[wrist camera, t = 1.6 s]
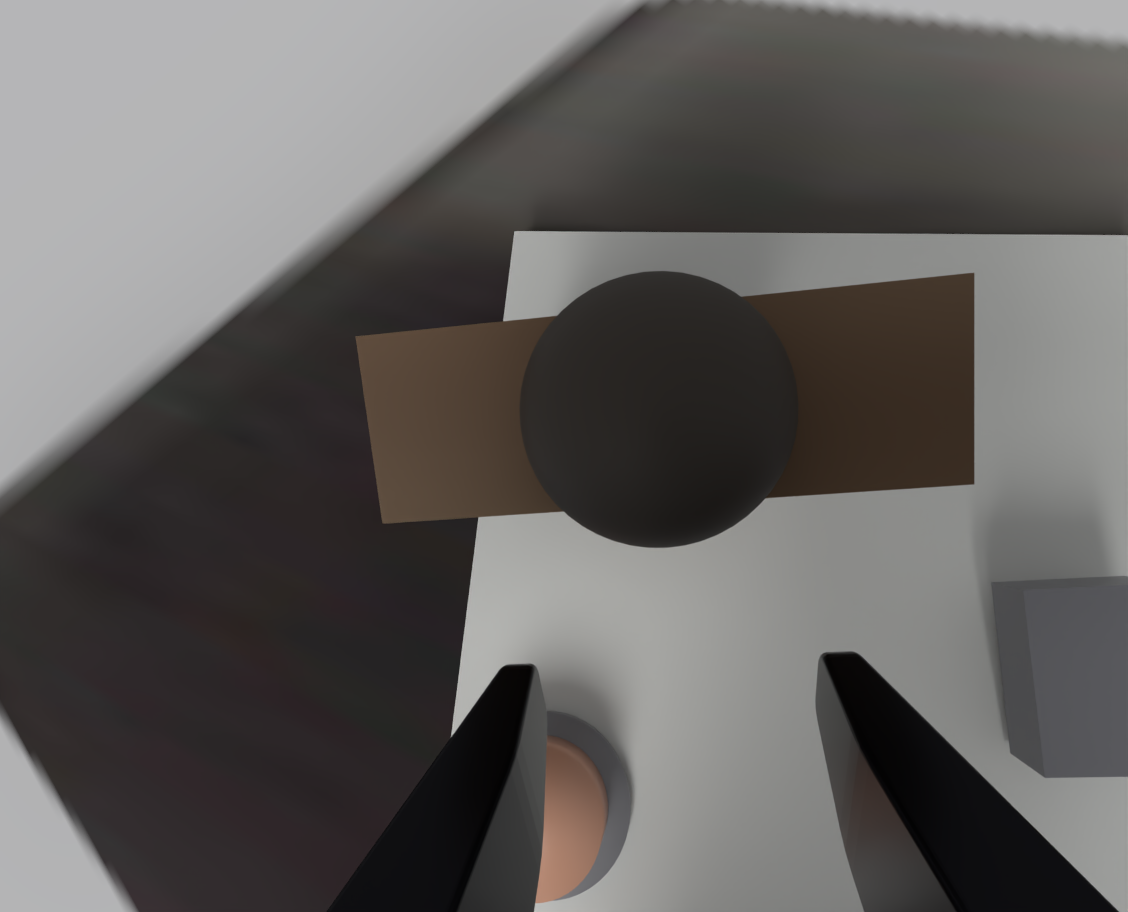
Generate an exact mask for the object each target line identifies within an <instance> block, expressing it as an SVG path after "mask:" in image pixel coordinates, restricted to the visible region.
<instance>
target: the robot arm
mask: <svg viewBox="0 0 1128 912" xmlns="http://www.w3.org/2000/svg"><path fill="white" fill-rule="evenodd" d="M815 707H816V715H817V721H818V726H819V731H820V736H821V740H822V745H823V750H824V755H825V760H826V764H827V769H828V774H829V779H830V784H831V788H832V793H833V798H834V803H835V808H836V812H837V817H838V822H839V827H840V831H841V836H842V840H843V844H844V848H845V852H846V856H847V859H848V863H849V866H850V869H851V873H852V876H853V879H854V882H855V885H856V888H857V891H858V894H859V898H860V901H861V904H862V907H863V910H864V912H1119V911H1118V910H1117V909H1116V908H1115V907H1114V906H1113V905H1112V904H1111V903H1110V902H1109V901H1108V900H1107V899H1106V898H1105V897H1104V896H1103V895H1102V894H1101V893H1100V892H1099V891H1098V890H1097V889H1096V888H1095V887H1094V886H1093V885H1092V884H1091V883H1090V882H1089V881H1088V880H1087V879H1086V878H1085V877H1084V876H1083V875H1082V874H1081V873H1080V872H1079V871H1078V870H1077V869H1076V868H1075V867H1074V866H1073V865H1072V864H1071V863H1070V862H1069V861H1068V860H1067V859H1066V858H1065V857H1064V856H1063V855H1062V854H1061V853H1060V852H1059V851H1058V850H1057V849H1056V848H1055V847H1054V846H1053V845H1051V844H1050V843H1049V842H1048V841H1047V840H1046V839H1045V838H1044V837H1043V836H1042V835H1041V834H1040V833H1039V832H1038V831H1037V830H1036V829H1035V828H1034V827H1033V826H1032V825H1031V824H1030V823H1029V822H1028V821H1027V820H1026V819H1025V818H1024V817H1023V816H1022V815H1021V814H1020V813H1019V812H1018V811H1017V810H1016V809H1015V808H1014V807H1013V806H1012V805H1011V804H1010V803H1009V802H1008V801H1007V800H1006V799H1005V798H1004V797H1003V796H1002V795H1001V794H1000V793H999V792H998V791H997V790H996V789H995V788H994V787H993V786H992V785H991V784H990V783H989V782H988V781H987V780H986V779H985V778H984V777H983V776H982V775H981V774H980V773H979V772H978V771H977V770H976V769H975V768H974V767H973V766H972V765H971V764H970V763H969V762H968V761H967V760H966V759H965V758H964V757H963V756H962V755H961V754H960V753H959V752H958V751H957V750H956V749H955V748H954V747H953V746H952V745H951V744H950V743H949V742H948V741H947V740H946V739H945V738H944V737H943V736H942V735H941V734H940V733H939V732H938V731H937V730H936V729H935V728H934V727H933V726H932V725H931V724H930V723H929V722H928V721H927V720H926V719H925V718H924V717H923V716H922V715H921V714H920V713H919V712H918V711H917V710H916V709H915V708H914V707H913V706H912V705H911V704H910V703H909V702H908V701H907V700H906V699H905V698H904V697H903V696H902V695H901V694H900V693H899V692H898V691H897V690H896V689H895V688H893V687H892V686H891V685H890V684H889V683H888V682H887V681H886V680H885V679H884V678H883V677H882V676H881V675H880V674H879V673H878V672H877V671H876V670H875V669H874V668H873V667H872V666H871V665H870V664H869V663H868V662H867V661H866V660H865V659H864V658H863V657H862V656H861V655H860V654H858V653H856V652H853V651H842V652H825V653H822V654H821V655H820V657H819V660H818V670H817V683H816V696H815ZM546 750H547V710H546V704H545V699H544V695H543V690H542V686H541V681H540V676H539V672H538V669H537V667H536V666H535V665H534V664H531V663H528V664H507V665H505V666H503V667H502V668H500V670H499V671H498V672H497V674H496V675H495V677H494V678H493V679H492V681H491V682H490V684H489V685H488V686H487V688H486V689H485V691H484V692H483V693H482V695H481V696H480V698H479V699H478V700H477V702H476V703H475V705H474V706H473V707H472V709H471V710H470V712H469V713H468V714H467V716H466V717H465V719H464V720H463V721H462V723H461V724H460V726H459V727H458V728H457V730H456V731H455V733H454V734H453V735H452V737H451V738H450V740H449V741H448V742H447V744H446V745H445V747H444V748H443V749H442V751H441V752H440V754H439V755H438V756H437V758H436V759H435V761H434V762H433V763H432V765H431V766H430V768H429V769H428V770H427V772H426V773H425V775H424V776H423V777H422V779H421V780H420V782H419V783H418V784H417V786H416V787H415V789H414V790H413V791H412V793H411V794H410V796H409V797H408V798H407V800H406V801H405V803H404V804H403V805H402V807H401V808H400V810H399V811H398V812H397V814H396V815H395V817H394V818H393V819H392V821H391V822H390V824H389V825H388V826H387V828H386V829H385V831H384V832H383V833H382V835H381V836H380V838H379V839H378V840H377V842H376V843H375V845H374V846H373V847H372V849H371V850H370V851H369V853H368V854H367V856H366V857H365V858H364V860H363V861H362V863H361V864H360V865H359V867H358V868H357V870H356V871H355V872H354V874H353V875H352V877H351V878H350V879H349V881H348V882H347V884H346V885H345V886H344V888H343V889H342V891H341V892H340V893H339V895H338V896H337V898H336V899H335V900H334V902H333V903H332V905H331V906H330V907H329V909H328V910H327V912H534V908H535V902H536V895H537V888H538V881H539V875H540V866H541V858H542V846H543V831H544V805H545V778H546Z"/></svg>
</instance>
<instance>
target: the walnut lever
mask: <svg viewBox="0 0 1128 912" xmlns="http://www.w3.org/2000/svg"><path fill="white" fill-rule="evenodd" d="M356 342H357V349H358V356H359V363H360V370H361V377H362V384H363V391H364V398H365V405H366V412H367V419H368V426H369V433H370V440H371V447H372V454H373V461H374V468H375V475H376V481H377V488H378V495H379V502H380V509H381V516H382V523H383V524H384V523H399V522H414V521H429V520H444V519H459V518H474V517H490V516H505V515H520V514H535V513H550V512H565V513H566V514H567V515H568V516H569V517H570V518H572V519H573V520H575V521H576V522H577V523H579V524H580V525H581V526H583V527H585V528H587V529H588V530H590V531H592V532H594V533H596V534H597V535H600V536H602V537H605V538H607V539H610V540H612V541H615V542H619V543H623V544H627V545H631V546H638V547H646V548H669V547H678V546H685V545H689V544H693V543H697V542H701V541H703V540H706V539H708V538H711V537H713V536H716V535H718V534H720V533H722V532H724V531H726V530H727V529H729V528H731V527H733V526H734V525H736V524H737V523H739V522H740V521H741V520H743V519H744V518H745V517H747V516H748V515H749V514H750V513H751V512H752V511H753V510H755V509H756V508H757V507H758V506H759V505H760V504H761V503H762V502H763V500H764V499H765V498H777V497H792V496H808V495H823V494H838V493H853V492H868V491H883V490H898V489H914V488H929V487H944V486H959V485H974V273H965V274H956V275H946V276H936V277H927V278H917V279H907V280H898V281H888V282H878V283H869V284H859V285H849V286H840V287H830V288H820V289H811V290H801V291H791V292H782V293H772V294H762V295H753V296H743V297H741V296H739V295H738V294H737V293H735V292H733V291H732V290H730V289H728V288H726V287H724V286H722V285H721V284H719V283H716V282H713V281H711V280H708V279H705V278H703V277H700V276H695V275H691V274H687V273H682V272H671V271H649V272H640V273H635V274H629V275H625V276H622V277H618V278H615V279H612V280H609V281H607V282H605V283H602V284H600V285H598V286H596V287H594V288H592V289H590V290H589V291H587V292H586V293H584V294H582V295H581V296H579V297H578V298H576V299H575V300H574V301H573V302H571V303H570V304H569V305H568V306H567V307H566V308H564V309H563V310H562V311H561V312H560V313H559V314H558V315H557V316H550V317H540V318H531V319H521V320H511V321H502V322H492V323H482V324H473V325H463V326H453V327H444V328H434V329H424V330H415V331H405V332H395V333H386V334H376V335H366V336H357V337H356Z"/></svg>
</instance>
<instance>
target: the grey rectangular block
mask: <svg viewBox="0 0 1128 912" xmlns="http://www.w3.org/2000/svg"><path fill="white" fill-rule="evenodd" d="M991 586H992V595H993V604H994V613H995V622H996V631H997V640H998V649H999V658H1000V666H1001V675H1002V684H1003V693H1004V702H1005V711H1006V720H1007V729H1008V737H1009V746H1010V753H1011V754H1012V755H1013V756H1015V757H1016V758H1018V759H1019V760H1020V761H1022V762H1023V763H1025V764H1026V765H1027V766H1029V767H1030V768H1032V769H1033V770H1034V771H1036V772H1037V773H1039V774H1040V775H1042V776H1043V777H1044V778H1074V777H1128V576H1109V577H1088V578H1068V579H1047V580H1026V581H1006V582H991Z"/></svg>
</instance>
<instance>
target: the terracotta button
mask: <svg viewBox="0 0 1128 912" xmlns="http://www.w3.org/2000/svg"><path fill="white" fill-rule="evenodd" d="M607 818H608V799H607V792H606V788H605V784H604V782H603V779H602V776H601V774H600V772H599V770H598V768H597V767H596V765H595V764H594V762H593V761H592V760H591V759H590V757H589V756H588V755H587V754H586V753H585V752H584V751H583V750H581V749H580V748H579V747H577V746H576V745H574V744H573V743H571V742H569V741H567V740H565V739H562V738H559V737H555V736H550V735H547V750H546V778H545V805H544V831H543V846H542V858H541V866H540V875H539V881H538V888H537V895H536V902H535V903H544V902H549V901H553V900H555V899H558V898H560V897H562V896H564V895H566V894H568V893H569V892H571V891H572V890H573V889H574V888H576V887H577V886H578V885H579V884H580V883H581V882H582V881H583V880H584V878H585V877H586V876H587V874H588V873H589V872H590V870H591V868H592V866H593V864H594V862H595V860H596V857H597V855H598V852H599V849H600V845H601V842H602V839H603V835H604V832H605V828H606V824H607Z"/></svg>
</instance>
